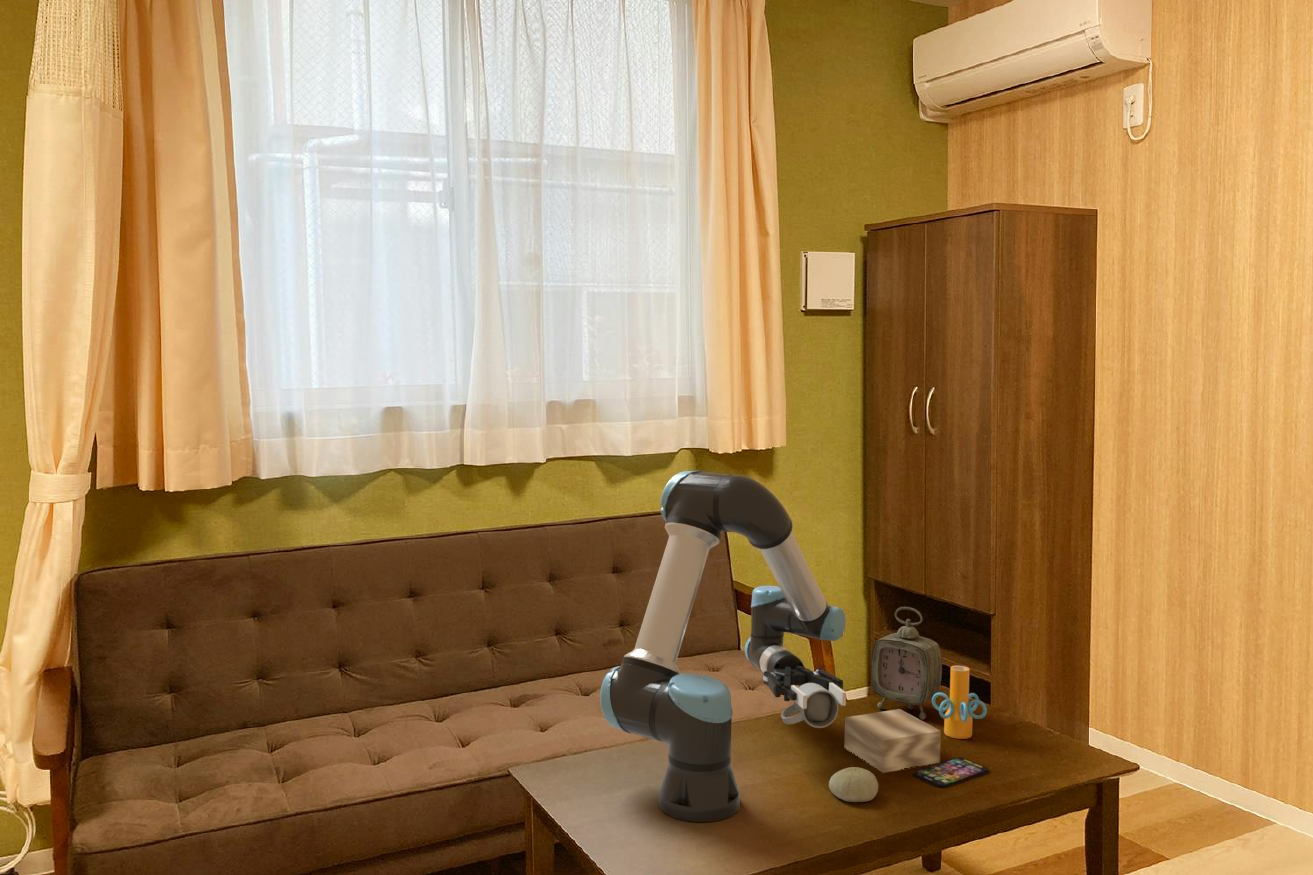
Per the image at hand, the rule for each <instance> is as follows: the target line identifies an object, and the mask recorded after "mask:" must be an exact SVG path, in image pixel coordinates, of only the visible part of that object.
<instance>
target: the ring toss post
mask: <svg viewBox="0 0 1313 875" xmlns="http://www.w3.org/2000/svg"><path fill="white" fill-rule="evenodd" d="M970 669H971V668H969V667H967V666H965V665H952V666H950V673H949V674H950V678H949V696H948V695H947V694H946V693H945V692H938V693H936V694H934V696H933V697H932V699H931V703H932V706H933V708H934V709H936V711H938V713H939V716H940V717H941V718H942V719H943V720H944V721H943V722H944V723H943V733H944V735H945V736H947V737H948V738H949V737H950V738H953V739H956V740H957V739H958V740H960V739H961V740H963V739H964V740H966V739H970V738H971V737H972V736H973V721H974V720H973V719H976V720H981V719H983V718H985V717H986V715H987V713H988V710H987V709H988V708H987V705H986V704H985V703H984V702H983V701H981V699H979V698H980V697H979V696H978V695H977V693H975V692H970ZM938 697H943V698H944V700H943V701H941V703H940V704H939V705H938V704H937V703H936V700H937V699H938ZM971 698H974V699H972V700H971ZM945 705H946V706H945ZM979 705H980V706H981V707H982V713H981V714H975V713H974V711H976V710H977V709H978V706H979ZM972 706H973V707H972ZM944 712H945V713H944Z"/></svg>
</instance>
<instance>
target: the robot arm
mask: <svg viewBox="0 0 1313 875" xmlns="http://www.w3.org/2000/svg"><path fill="white" fill-rule="evenodd" d="M660 506H661V508H660V515H661V516H662V518H663V521H665V525H664V529H665V531H666V533H667V535H668V540H667V543H666V546H665V549H664V552H663V556H662V558H661V562H660V566H659V568H658V572H657V575H656V577H655V578H656V579H655V582H654V585H653V587H652V591H651V594H650V596H649V601H648V604H647V607H646V610H645V613H644V616H643V620H642V623H641V627H640V630H639V632H638V635H637V639H636V643H635V646H634V649H633V650H632V651H630V652H628V653H626V654H624V656H623V658H622V661H621V663H620V664H621V665H618V666H615V667H613V668H611V669H610V670H609V672H606V675H605V676H604V678H603V680H602V683H601V687H600V690H599V691H600V693H599V704H600V709H601V711H602V715H603V718H604V719H605V721H606V722H607V723H608V724H609V725H610V726H611V727H612V728H615V729H618V730H620V731H622V732H625V733H627V734H629V735H630V734H633V735H637V736H641V737H644V738H647V739H651V740H655V741H658V742H662V743H666V744H667V745H668V746H667V748H668V750H667V752H668V757H667V758H668V760H667V761H668V763H667V765H666V769H665V771H664V775H663V777H662V781H661V784H660V785H659V786H660V787H659V789H658V808H660V810H661V811H662V812H663V813H665V814H666V815H668V816H670V817H672V818H675V819H677V820H682V821H687V822H694V823H695V822H696V823H697V822H698V823H706V822H707V823H709V822H715V821H721V820H725V819H728V818H729V817H732V816H733V815H735V814H736V813H737V812H739V809H740V806H741V804H740V803H741V800H740V799H741V797H740V795H741V794H740V789H739V786H738V782H737V780H736V778H735V774H734V770H733V766H732V723H733V722H732V720H733V718H732V716H733V704H732V695H731V692H730V689H729V688H728V686H727V685H726V684H725V683H724V682H723V681H721V680H719V679H718V678H715V677H713V676H710V675H707V674H703V673H702V674H701V673H697V674H695V673H693V672H692V673H691V672H685V673H681V671H680V668H679V667H678V665H677V660H678V656H679V653H680V650H681V648H682V643H683V640H684V637H685V633H686V630H687V626H688V623H689V620H690V616H691V613H692V609H693V606H694V602H695V600H696V596H697V592H698V589H699V586H700V582H701V579H702V575H703V573H704V568H705V566H706V565H705V564H706V562H707V559H708V555H709V551H710V550H711V549H712V548H713V547H715V546H717V545H719V544H720V540H721V536H722V535H723V532H724V533H725V532H726V533H736V534H739V535H741V536H743V537H745V538H746V539H747V540H748V542H749V543H750V545H751V547H753V548H755V549H757V550H759V552H760V553H761V556H762V558H763V559H764V561H765V563H766V564H767V566H768V568H769V570H770V572H771V574H772V576H773V577H774V579H775V581H776V582H777V585H778V586H775V585H760V586H757V587H755V588H754V589H753V590H752V594H751V605H750V608H751V609H750V610H751V614H750V615H751V616H750V618H751V619H750V626H751V627H750V637H749V638H747V640H746V643H745V645H744V655H745V657H746V659H747V660H748V662H749V663H750V664H751V666H753V667H754V668H755V669H757V670H759V672H761V673H762V674H763V675H762V676H763V679H762V682H763V684H764V685H766V686H767V687H768V689H769V690H770V691H771V693H772V695H773V696H774V697H775V698H780V697H781V696H783V701H784V702H790V701H793V703H794V702H795V703H797V704H798V705H799V706H800V707H801V708H803V709H807V695H806V694H805V693H803V692H802V691H801V690H800V689H798V688H799V687H800V686H801V685H803V684H806V683H815V684H818V685H820V686H822V687H823V688H825V689H826V690H828V691H829V692H831V693H832V694H833V695H834V696H835V697H836V699H837V701H838V705H840V706H842V707H844V706H846V703H847V702H846V701H847V692H846V691H845V690H844V680H843V679H841V678H839V677H838V676H837V677H836V676H835V675H833V674H831V673H829V672H827V671H825V669H824V668H822V667H818V668H816V670H815V671H813V670H811V669H809V668H807V667H805V665H804V663H803V661H802V660H801V659H800V658H799V657H798V656H796V655H795V654H793V653H792V652H791V651H790V650H789V649H787V648H785V646H784V636H785V634H786V633H787V634H792V635H797V636H801V637H802V636H803V637H807V638H813V639H818V640H821V641H829V642H835V641H839V639H840V638H841V637H842V636H843V633H844V632H845V629H846V621H847V620H846V615H845V611H844V610H843V609H842V608H840V607H838V606H835V605H829V604H828V602H827V600H826V599H825V596H824V594H823V592H822V591H821V588H820V587H819V584H818V582H817V580H816V578H815V577H814V575H813V572H812V570H811V569H810V566H809V564H808V562H807V560H806V558H805V557H804V555H803V552H802V550H801V548H800V546H799V544H798V542H797V540H796V537H795V536H794V534H793V529H794V525H793V524H794V523H793V521H792V519H791V517H790V515H789V513H788V511H787V509H786V508H785V506H784V504H782V502H781V501H780V500H779V499H778V498H777V497H776V496H775V495H774V494H773V492H771V491H770V490H769V489H768V488H767V487H766V486H765V485H763V484H762V483H761V482H759V481H757V480H756V479H754V478H751V477H749V476H747V475H743V474H729V473H722V472H721V473H719V472H709V471H703V470H690V471H689V470H684V471H680V472H678V473H675V475H673V476H672V477H671V478H670V479H669V480H668V482H667V483H666V485H665V486H664V488H663V490H662V493H661V496H660Z"/></svg>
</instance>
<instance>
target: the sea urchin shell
mask: <svg viewBox="0 0 1313 875" xmlns="http://www.w3.org/2000/svg"><path fill="white" fill-rule="evenodd" d="M828 788H829V790H830V791H831V793H832V794H833V795H834V796H835V797H836V798H838V799H840V800H842V801H844V802H848V803H863V802H865V803H866V802H869V801H872V800H873V799H874V798H875V797H877V793H878V791H879V782H878V780H877V777H876V776H875V774H874V773H872V772H871V771H870V770H867V769H865V768H863V767H858V766H856V767H854V766H851V767H846V768H843V769H840V770H838V771H837V772H835V773H834V774H832V776H830V779H829V781H828Z"/></svg>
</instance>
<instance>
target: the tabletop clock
mask: <svg viewBox="0 0 1313 875" xmlns="http://www.w3.org/2000/svg"><path fill="white" fill-rule="evenodd" d="M903 610H905V611H910V612H914V613H916V614H917V615H918V616H919V619H920V621H918V622H912V620H911V619H910V618H907V619H906V620H905V621H904V620H902V619H900V618H899V617H898V615H897V614H898V612H899V611H903ZM894 617H895V619H896V620H897V622H899V623H900V624H903V625H904V626H901V627H900V628H898V630H897V631H896V632H895V633H894V632H893V633H891V634H887V635H886V636H883V637H881V638H879V639H876V640H875V642H874V644H873V646H872V651H871V660H870V676H871V677H870V678H871V685H872V689H873V691H874V693H875V694H877V695H878V696H879V697H881V698H883V699H882V701H879V702H877V706H876V707H877V708H878V709H879V710H882V709H884V708H885V704H884V703H885V702H887V700H890V701H892V702H896V703H899V704H900V703H901V704H905V705H906V707H907V709H908V710H913V709H914V708H915V706H917V705H918V708H919V711H920V712H919V714H918V717H919V718H918V719H920V720H921V721H924V720H925V719H927V714H926V713H925V712H924V709H923V708H924V707H923V704H924V703H926V702H928V701H930V700H932V697H933V696H934V694H936V693H940V692H939V691H940V689H941V688H940V687H941V683H942V682H941V681H942V674H943V667H942V666H943V664H942V663H943V661H942V652H941V649H940V646H939V643H937V642H936V641H934V640H933V639H932V638H931V639H930V638H927V637H924V636H920V634H919V631H918V630H917V629H916V626H919V625H920V624H922V622H923V619H924V618H923V616H922V613H921V612H920V611H919V610H917V609H916V608H913V607H910V606H900V607H898V608H897V609H896V610H895V612H894ZM914 705H915V706H914Z"/></svg>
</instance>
